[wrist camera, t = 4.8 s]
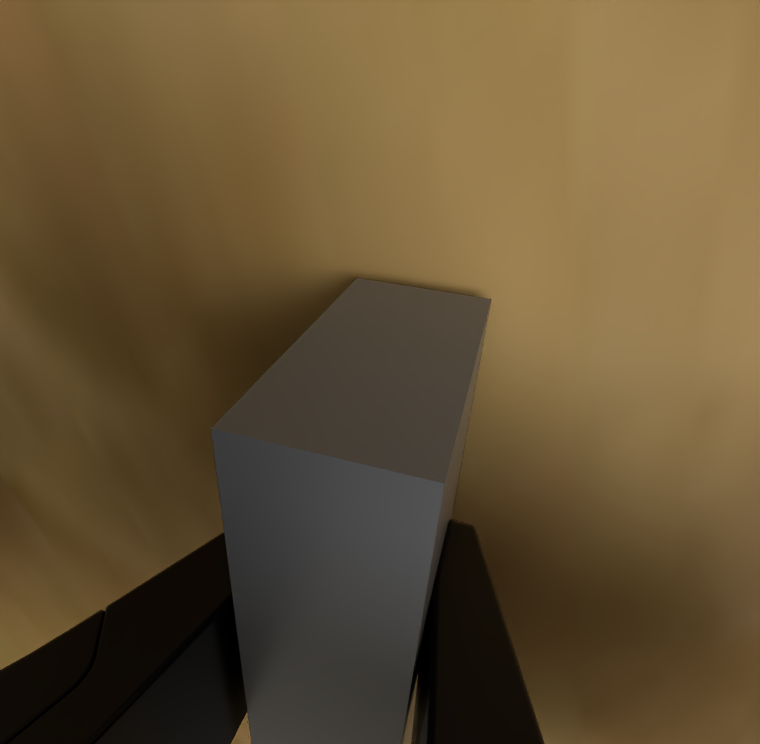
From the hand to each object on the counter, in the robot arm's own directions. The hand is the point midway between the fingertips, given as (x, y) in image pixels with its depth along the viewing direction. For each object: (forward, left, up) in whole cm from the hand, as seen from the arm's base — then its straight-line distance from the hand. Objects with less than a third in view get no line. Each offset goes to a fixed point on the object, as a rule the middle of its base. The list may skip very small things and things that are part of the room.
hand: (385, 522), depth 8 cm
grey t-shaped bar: (0, +7, -1) cm, 8 cm away
